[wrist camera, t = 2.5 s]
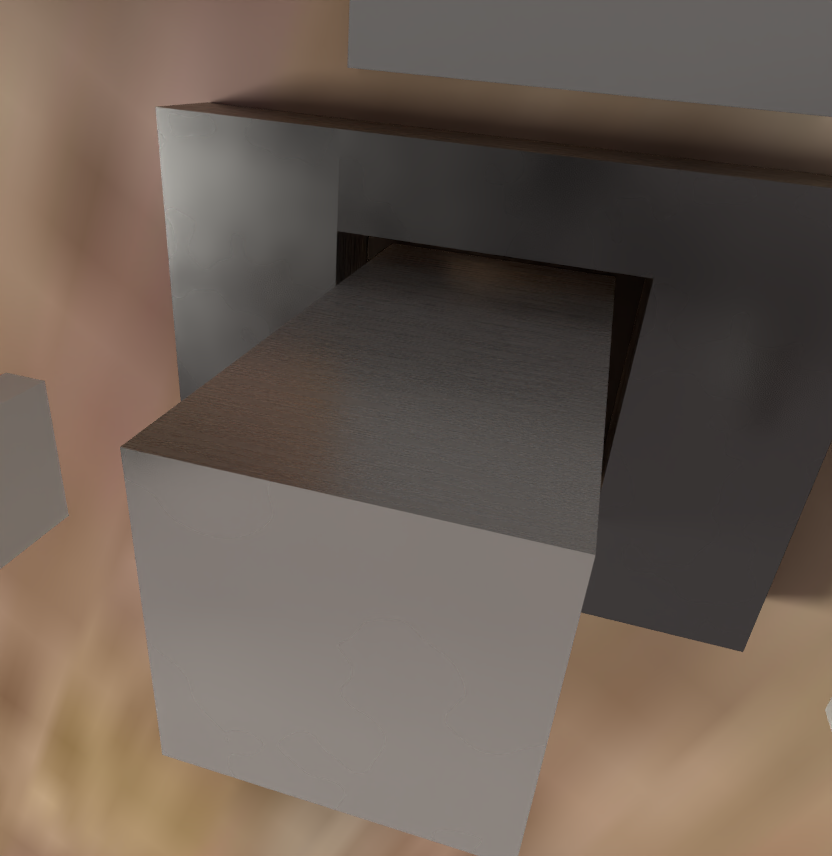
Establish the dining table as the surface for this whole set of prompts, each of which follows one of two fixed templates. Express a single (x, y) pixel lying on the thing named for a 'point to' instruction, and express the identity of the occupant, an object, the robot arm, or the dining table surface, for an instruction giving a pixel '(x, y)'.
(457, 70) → the rubber mat
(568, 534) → the gray rectangular block
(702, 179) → the plate
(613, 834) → the dining table surface
